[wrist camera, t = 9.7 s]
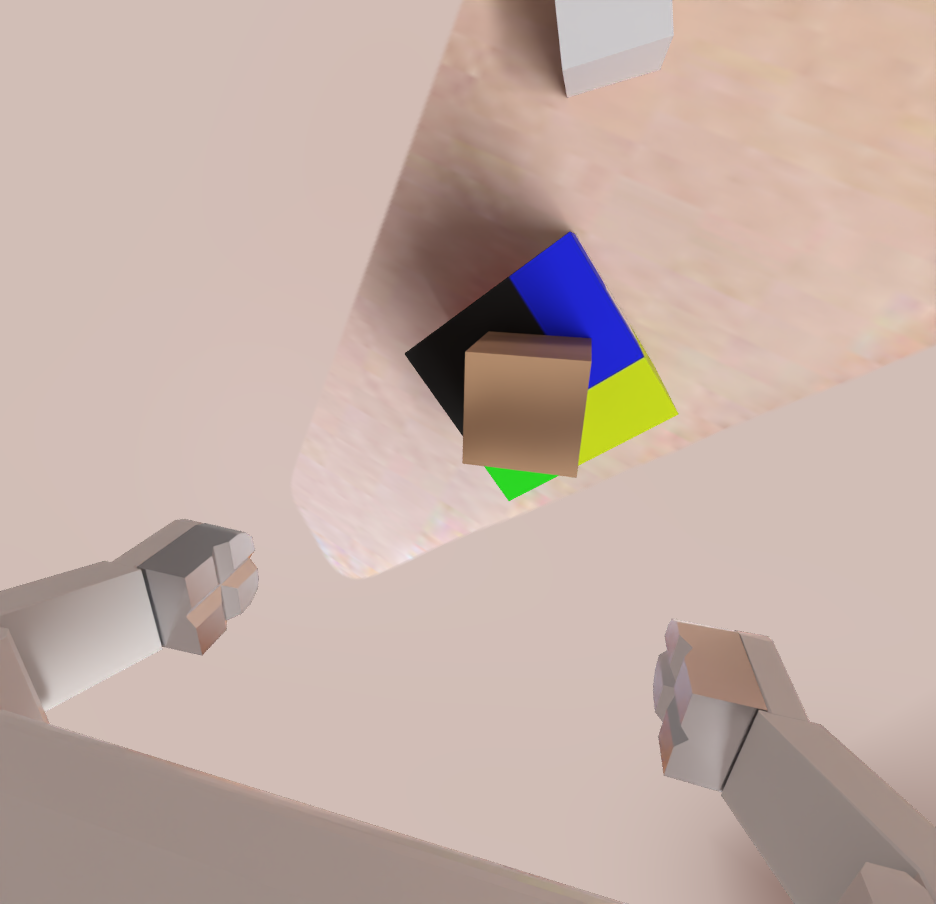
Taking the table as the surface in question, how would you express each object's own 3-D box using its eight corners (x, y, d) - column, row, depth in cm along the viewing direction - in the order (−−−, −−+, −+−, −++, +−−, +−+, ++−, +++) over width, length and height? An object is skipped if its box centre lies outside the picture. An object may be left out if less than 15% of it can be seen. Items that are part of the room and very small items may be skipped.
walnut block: (488, 331, 24) (465, 351, 20) (591, 338, 23) (591, 361, 19) (484, 425, 26) (462, 463, 22) (579, 435, 25) (576, 477, 21)
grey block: (555, -11, 26) (548, -63, 22) (654, -47, 25) (667, -110, 20) (567, 98, 28) (562, 70, 23) (659, 70, 27) (673, 35, 22)
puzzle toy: (576, 234, 31) (570, 231, 22) (654, 367, 33) (678, 414, 24) (452, 325, 35) (404, 353, 26) (529, 438, 37) (508, 501, 28)
